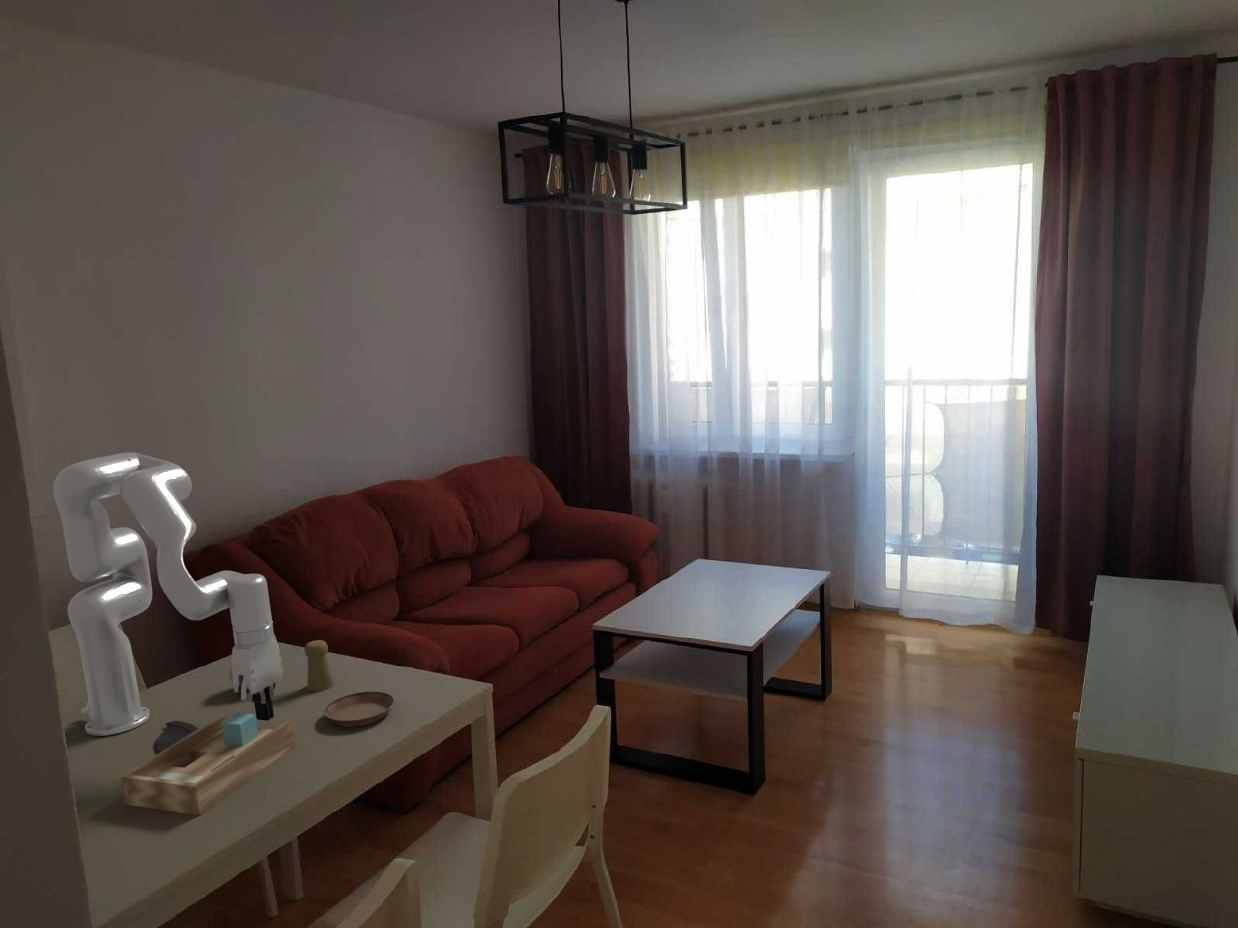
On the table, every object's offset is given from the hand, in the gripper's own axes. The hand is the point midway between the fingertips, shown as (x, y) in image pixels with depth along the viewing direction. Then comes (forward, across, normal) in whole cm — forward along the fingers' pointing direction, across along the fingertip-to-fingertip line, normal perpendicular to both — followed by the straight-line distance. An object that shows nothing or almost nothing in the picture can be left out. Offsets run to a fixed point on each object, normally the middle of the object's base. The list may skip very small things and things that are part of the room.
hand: (265, 718), depth 187 cm
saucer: (+5, -13, +14) cm, 19 cm away
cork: (+4, -25, -5) cm, 26 cm away
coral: (+4, -21, -21) cm, 30 cm away
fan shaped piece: (+5, +4, -19) cm, 20 cm away
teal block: (+1, +7, 0) cm, 7 cm away
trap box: (+4, +15, 0) cm, 16 cm away
